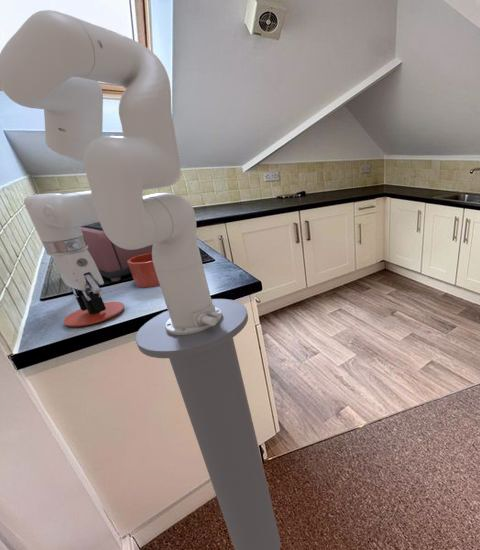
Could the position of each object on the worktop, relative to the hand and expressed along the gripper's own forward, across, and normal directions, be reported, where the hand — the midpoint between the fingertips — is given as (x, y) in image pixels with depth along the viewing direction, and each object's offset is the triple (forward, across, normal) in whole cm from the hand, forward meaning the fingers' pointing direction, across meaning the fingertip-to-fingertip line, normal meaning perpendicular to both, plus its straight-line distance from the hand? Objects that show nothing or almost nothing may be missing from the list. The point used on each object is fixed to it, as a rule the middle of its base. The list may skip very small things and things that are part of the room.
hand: (93, 309), depth 81 cm
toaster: (+2, +37, -33) cm, 49 cm away
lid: (+1, 0, 0) cm, 1 cm away
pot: (+2, +10, -22) cm, 24 cm away
